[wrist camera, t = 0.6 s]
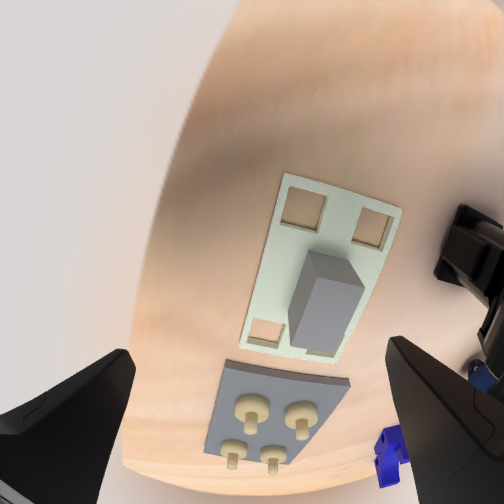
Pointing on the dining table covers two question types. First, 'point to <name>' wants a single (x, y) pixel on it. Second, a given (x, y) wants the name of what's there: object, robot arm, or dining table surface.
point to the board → (293, 254)
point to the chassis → (269, 413)
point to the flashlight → (484, 380)
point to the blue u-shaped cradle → (390, 455)
